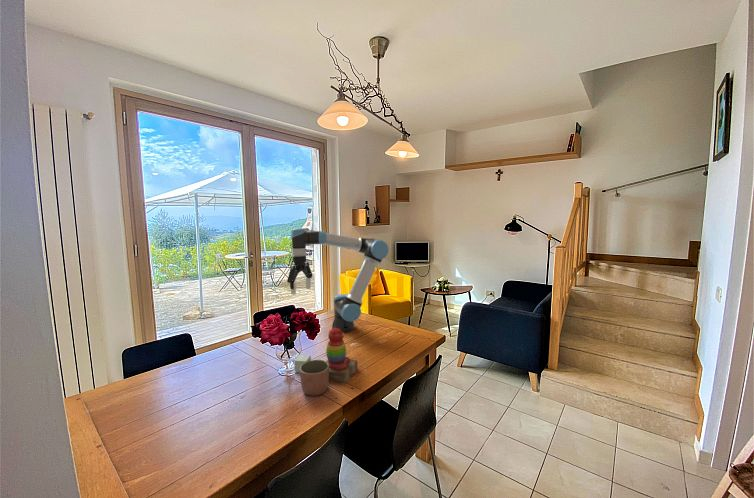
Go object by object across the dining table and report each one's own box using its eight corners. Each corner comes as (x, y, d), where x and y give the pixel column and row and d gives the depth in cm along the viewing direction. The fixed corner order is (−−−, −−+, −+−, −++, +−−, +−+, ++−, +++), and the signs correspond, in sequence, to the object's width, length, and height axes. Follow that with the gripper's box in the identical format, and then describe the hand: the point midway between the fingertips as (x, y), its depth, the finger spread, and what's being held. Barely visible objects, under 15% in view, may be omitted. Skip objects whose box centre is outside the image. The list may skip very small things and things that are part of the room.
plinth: (332, 365, 155) (332, 356, 154) (357, 370, 150) (357, 360, 149) (317, 379, 142) (317, 369, 142) (344, 385, 137) (344, 374, 137)
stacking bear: (345, 370, 140) (343, 333, 138) (324, 369, 141) (321, 333, 139) (350, 359, 150) (348, 324, 148) (330, 358, 152) (328, 324, 150)
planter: (319, 379, 141) (318, 357, 140) (335, 390, 132) (334, 366, 131) (295, 390, 133) (294, 366, 131) (311, 402, 124) (309, 377, 123)
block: (299, 366, 154) (299, 355, 153) (311, 367, 153) (310, 355, 152) (294, 372, 148) (294, 360, 147) (306, 373, 147) (306, 361, 147)
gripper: (307, 252, 188) (308, 286, 190) (279, 258, 165) (281, 296, 168) (317, 252, 185) (318, 287, 187) (290, 258, 162) (292, 297, 165)
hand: (301, 291), depth 177 cm, fingers open, 13 cm apart
